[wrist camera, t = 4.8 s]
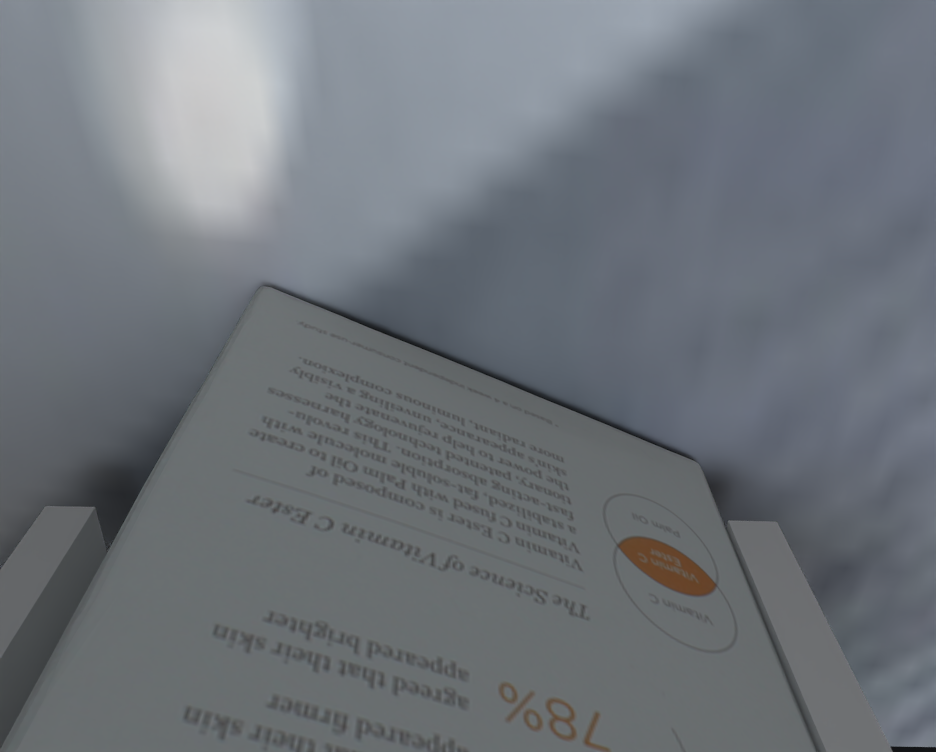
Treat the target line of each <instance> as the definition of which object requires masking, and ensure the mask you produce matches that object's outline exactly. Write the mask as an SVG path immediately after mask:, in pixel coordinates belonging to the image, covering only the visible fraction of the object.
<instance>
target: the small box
mask: <svg viewBox="0 0 936 752" xmlns="http://www.w3.org/2000/svg"><path fill="white" fill-rule="evenodd" d="M0 752H817V749H816V747H815V745H814V742H813V740H812V737H811V735H810V732H809V730H808V727H807V725H806V723H805V720H804V718H803V715H802V713H801V710H800V708H799V706H798V703H797V701H796V698H795V696H794V693H793V691H792V689H791V686H790V684H789V681H788V679H787V676H786V674H785V671H784V669H783V667H782V664H781V662H780V659H779V657H778V654H777V652H776V649H775V647H774V645H773V642H772V640H771V637H770V635H769V632H768V630H767V628H766V625H765V623H764V620H763V618H762V615H761V613H760V610H759V608H758V606H757V603H756V601H755V598H754V596H753V593H752V591H751V588H750V586H749V584H748V581H747V579H746V576H745V574H744V571H743V569H742V567H741V564H740V562H739V559H738V557H737V554H736V552H735V549H734V547H733V545H732V542H731V540H730V537H729V535H728V532H727V530H726V528H725V525H724V523H723V520H722V518H721V515H720V513H719V510H718V508H717V505H716V503H715V500H714V498H713V495H712V493H711V490H710V488H709V485H708V483H707V480H706V478H705V475H704V473H703V471H702V469H701V467H700V465H699V464H698V463H696V462H695V461H693V460H691V459H688V458H686V457H683V456H681V455H678V454H676V453H673V452H671V451H668V450H666V449H664V448H661V447H659V446H656V445H654V444H652V443H649V442H647V441H644V440H642V439H640V438H637V437H635V436H632V435H630V434H628V433H625V432H623V431H621V430H618V429H616V428H613V427H611V426H609V425H606V424H604V423H601V422H599V421H597V420H594V419H592V418H589V417H587V416H584V415H582V414H579V413H577V412H575V411H572V410H570V409H567V408H565V407H562V406H560V405H557V404H555V403H553V402H550V401H548V400H545V399H543V398H540V397H538V396H535V395H533V394H531V393H528V392H526V391H523V390H521V389H519V388H516V387H514V386H512V385H509V384H507V383H504V382H502V381H500V380H497V379H495V378H492V377H490V376H487V375H485V374H483V373H480V372H478V371H475V370H473V369H470V368H468V367H465V366H463V365H461V364H458V363H456V362H453V361H451V360H448V359H446V358H443V357H441V356H439V355H436V354H434V353H431V352H429V351H426V350H424V349H421V348H419V347H416V346H414V345H411V344H409V343H406V342H404V341H401V340H399V339H396V338H394V337H391V336H388V335H386V334H383V333H381V332H378V331H376V330H373V329H371V328H368V327H366V326H364V325H361V324H359V323H357V322H354V321H352V320H349V319H347V318H345V317H342V316H340V315H338V314H335V313H333V312H330V311H328V310H325V309H323V308H320V307H318V306H315V305H313V304H310V303H308V302H305V301H303V300H300V299H298V298H295V297H293V296H290V295H288V294H286V293H283V292H281V291H278V290H276V289H273V288H271V287H265V286H263V287H260V288H259V289H258V290H257V291H256V293H255V294H254V296H253V297H252V299H251V301H250V303H249V304H248V306H247V308H246V309H245V311H244V312H243V314H242V316H241V317H240V319H239V321H238V323H237V325H236V327H235V329H234V330H233V332H232V334H231V335H230V337H229V339H228V341H227V342H226V344H225V346H224V348H223V349H222V351H221V353H220V355H219V356H218V358H217V360H216V362H215V363H214V365H213V367H212V369H211V371H210V372H209V374H208V376H207V378H206V380H205V381H204V383H203V385H202V386H201V388H200V390H199V391H198V393H197V394H196V396H195V397H194V399H193V401H192V402H191V404H190V406H189V408H188V409H187V411H186V413H185V414H184V416H183V418H182V420H181V421H180V423H179V425H178V427H177V428H176V430H175V432H174V433H173V435H172V437H171V439H170V440H169V442H168V444H167V446H166V447H165V449H164V451H163V453H162V454H161V456H160V458H159V460H158V461H157V463H156V465H155V467H154V468H153V470H152V472H151V474H150V475H149V477H148V479H147V481H146V482H145V484H144V486H143V488H142V489H141V491H140V493H139V495H138V497H137V499H136V501H135V502H134V504H133V506H132V508H131V510H130V512H129V514H128V515H127V517H126V519H125V521H124V523H123V525H122V526H121V528H120V530H119V532H118V534H117V536H116V538H115V539H114V541H113V543H112V545H111V547H110V549H109V550H108V552H107V554H106V556H105V558H104V560H103V561H102V563H101V565H100V567H99V569H98V571H97V572H96V574H95V576H94V578H93V580H92V582H91V583H90V585H89V587H88V589H87V591H86V592H85V594H84V596H83V598H82V600H81V602H80V603H79V605H78V607H77V609H76V611H75V613H74V614H73V616H72V618H71V620H70V622H69V624H68V625H67V627H66V629H65V631H64V633H63V635H62V637H61V638H60V640H59V642H58V644H57V646H56V648H55V649H54V651H53V653H52V655H51V657H50V659H49V660H48V662H47V664H46V666H45V668H44V670H43V671H42V673H41V675H40V677H39V679H38V681H37V683H36V684H35V686H34V688H33V690H32V692H31V694H30V695H29V697H28V699H27V701H26V703H25V705H24V706H23V708H22V710H21V712H20V714H19V716H18V717H17V719H16V721H15V723H14V725H13V727H12V728H11V730H10V732H9V734H8V736H7V738H6V740H5V741H4V743H3V745H2V747H1V749H0Z"/></svg>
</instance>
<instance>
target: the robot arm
mask: <svg viewBox="0 0 936 752" xmlns="http://www.w3.org/2000/svg"><path fill="white" fill-rule="evenodd" d="M726 530H727V532H728V535H729V537H730V540H731V542H732V545H733V547H734V549H735V552H736V554H737V557H738V559H739V562H740V564H741V567H742V569H743V571H744V574H745V576H746V579H747V581H748V584H749V586H750V588H751V591H752V593H753V596H754V598H755V601H756V603H757V606H758V608H759V610H760V613H761V615H762V618H763V620H764V623H765V625H766V628H767V630H768V632H769V635H770V637H771V640H772V642H773V645H774V647H775V649H776V652H777V654H778V657H779V659H780V662H781V664H782V667H783V669H784V671H785V674H786V676H787V679H788V681H789V684H790V686H791V689H792V691H793V693H794V696H795V698H796V701H797V703H798V706H799V708H800V710H801V713H802V715H803V718H804V720H805V723H806V725H807V727H808V730H809V732H810V735H811V737H812V740H813V742H814V745H815V747H816V749H817V752H936V747H890V745H889V743H888V741H887V739H886V737H885V735H884V733H883V731H882V729H881V727H880V725H879V723H878V721H877V719H876V717H875V715H874V713H873V711H872V709H871V707H870V705H869V703H868V701H867V699H866V697H865V695H864V693H863V692H862V690H861V688H860V686H859V684H858V682H857V680H856V678H855V676H854V674H853V672H852V670H851V668H850V666H849V664H848V662H847V660H846V658H845V656H844V654H843V652H842V650H841V648H840V646H839V644H838V642H837V640H836V638H835V636H834V634H833V632H832V630H831V628H830V626H829V624H828V622H827V620H826V618H825V616H824V614H823V612H822V610H821V608H820V606H819V604H818V602H817V600H816V598H815V596H814V594H813V592H812V590H811V588H810V586H809V584H808V582H807V580H806V578H805V576H804V574H803V572H802V570H801V568H800V566H799V564H798V563H797V561H796V559H795V557H794V555H793V553H792V551H791V549H790V547H789V545H788V543H787V541H786V539H785V537H784V535H783V533H782V531H781V529H780V527H779V525H778V523H777V522H773V521H728V523H727V528H726ZM106 554H107V549H106V546H105V542H104V538H103V534H102V531H101V527H100V523H99V519H98V516H97V512H96V508H95V507H71V506H45V507H44V509H43V510H42V512H41V513H40V514H39V516H38V517H37V519H36V520H35V521H34V523H33V524H32V526H31V527H30V528H29V530H28V531H27V533H26V534H25V535H24V537H23V538H22V540H21V541H20V543H19V544H18V545H17V547H16V548H15V550H14V551H13V552H12V554H11V555H10V557H9V558H8V559H7V561H6V562H5V564H4V565H3V566H2V568H1V569H0V749H1V747H2V745H3V743H4V741H5V740H6V738H7V736H8V734H9V732H10V730H11V728H12V727H13V725H14V723H15V721H16V719H17V717H18V716H19V714H20V712H21V710H22V708H23V706H24V705H25V703H26V701H27V699H28V697H29V695H30V694H31V692H32V690H33V688H34V686H35V684H36V683H37V681H38V679H39V677H40V675H41V673H42V671H43V670H44V668H45V666H46V664H47V662H48V660H49V659H50V657H51V655H52V653H53V651H54V649H55V648H56V646H57V644H58V642H59V640H60V638H61V637H62V635H63V633H64V631H65V629H66V627H67V625H68V624H69V622H70V620H71V618H72V616H73V614H74V613H75V611H76V609H77V607H78V605H79V603H80V602H81V600H82V598H83V596H84V594H85V592H86V591H87V589H88V587H89V585H90V583H91V582H92V580H93V578H94V576H95V574H96V572H97V571H98V569H99V567H100V565H101V563H102V561H103V560H104V558H105V556H106Z"/></svg>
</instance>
